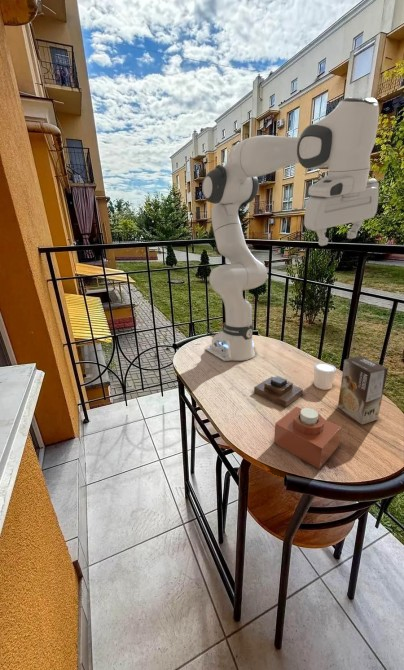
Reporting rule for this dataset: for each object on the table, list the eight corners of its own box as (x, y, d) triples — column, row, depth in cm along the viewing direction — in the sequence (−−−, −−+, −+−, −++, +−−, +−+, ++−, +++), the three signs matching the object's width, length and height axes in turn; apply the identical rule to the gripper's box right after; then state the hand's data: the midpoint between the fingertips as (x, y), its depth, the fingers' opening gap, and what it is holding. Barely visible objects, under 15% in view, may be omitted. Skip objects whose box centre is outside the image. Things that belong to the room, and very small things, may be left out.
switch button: (270, 384, 91) (270, 379, 91) (276, 380, 94) (277, 375, 93) (280, 388, 89) (280, 383, 88) (286, 384, 91) (286, 379, 91)
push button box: (273, 442, 72) (275, 416, 69) (294, 424, 78) (296, 400, 75) (319, 469, 63) (323, 441, 61) (338, 446, 70) (342, 420, 67)
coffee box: (379, 419, 78) (390, 368, 73) (361, 425, 76) (371, 373, 71) (352, 402, 86) (361, 355, 81) (336, 406, 85) (343, 358, 79)
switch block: (254, 392, 94) (254, 382, 92) (271, 381, 100) (271, 371, 98) (285, 407, 85) (286, 396, 84) (302, 394, 91) (303, 383, 90)
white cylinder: (335, 391, 92) (338, 372, 90) (313, 389, 94) (316, 371, 91) (331, 380, 99) (333, 363, 96) (310, 379, 100) (312, 362, 98)
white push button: (296, 419, 68) (297, 412, 67) (305, 412, 71) (305, 405, 70) (312, 427, 65) (313, 420, 65) (320, 419, 68) (321, 412, 67)
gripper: (369, 176, 72) (358, 232, 80) (302, 188, 67) (298, 246, 75) (391, 177, 67) (377, 236, 75) (321, 190, 62) (314, 252, 70)
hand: (337, 241), depth 75 cm, fingers open, 8 cm apart
